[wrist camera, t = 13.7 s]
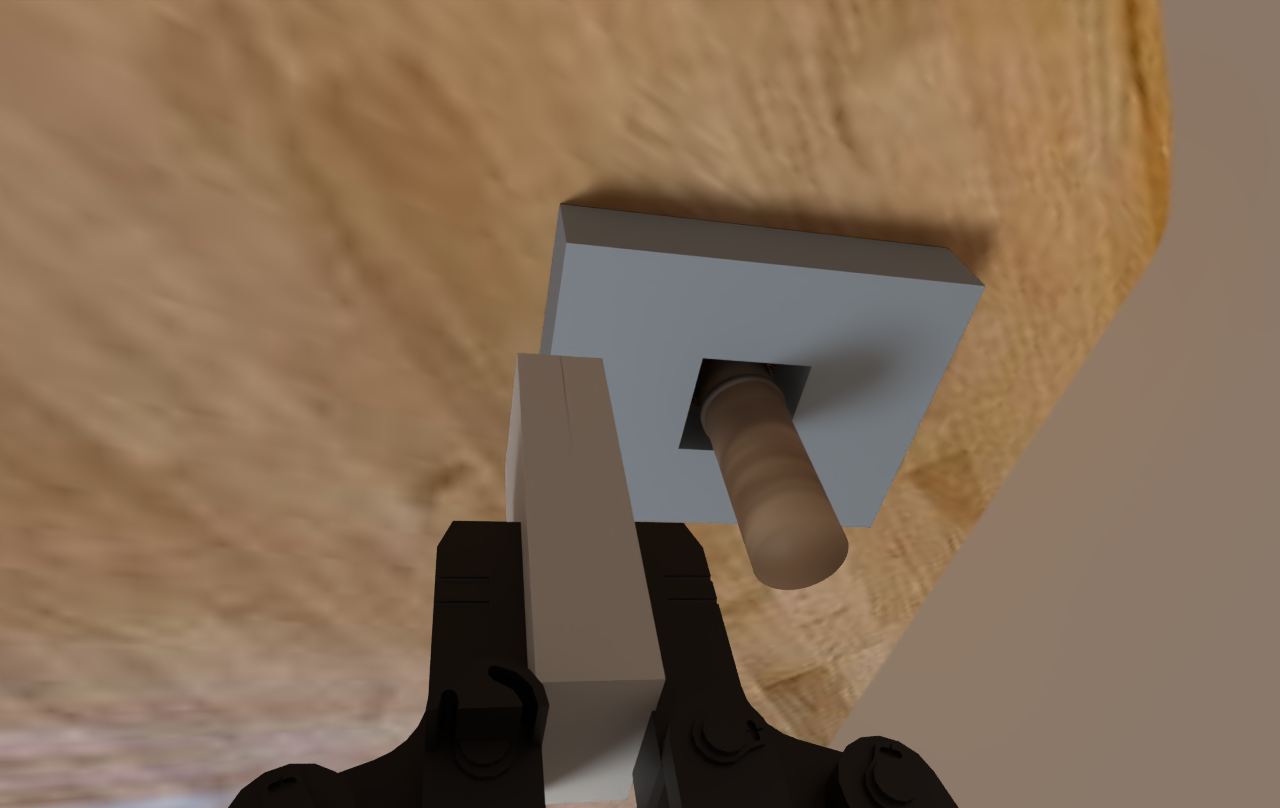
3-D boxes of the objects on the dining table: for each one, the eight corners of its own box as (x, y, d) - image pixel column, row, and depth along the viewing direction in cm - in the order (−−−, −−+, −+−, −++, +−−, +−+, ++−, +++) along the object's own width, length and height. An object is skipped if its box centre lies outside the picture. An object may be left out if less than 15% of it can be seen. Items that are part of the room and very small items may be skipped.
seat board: (560, 204, 38) (566, 242, 35) (948, 248, 42) (985, 286, 39) (524, 468, 47) (527, 517, 44) (847, 481, 52) (870, 527, 48)
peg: (694, 326, 43) (765, 517, 32) (772, 333, 44) (866, 520, 33) (677, 393, 46) (737, 591, 34) (751, 398, 46) (832, 592, 35)
